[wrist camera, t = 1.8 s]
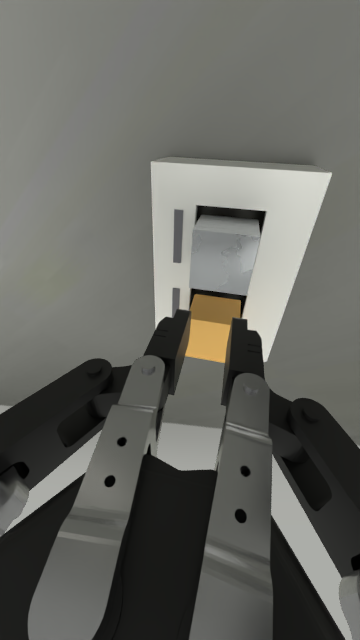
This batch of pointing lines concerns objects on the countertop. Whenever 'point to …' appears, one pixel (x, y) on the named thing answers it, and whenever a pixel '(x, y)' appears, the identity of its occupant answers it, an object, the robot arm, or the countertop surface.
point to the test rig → (241, 193)
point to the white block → (223, 253)
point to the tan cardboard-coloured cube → (211, 326)
